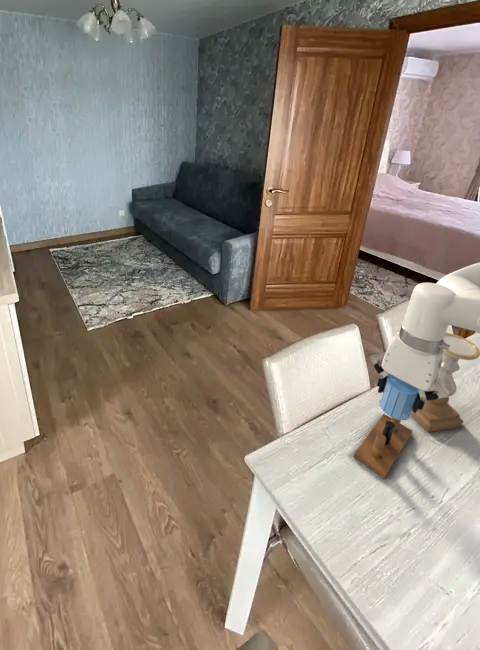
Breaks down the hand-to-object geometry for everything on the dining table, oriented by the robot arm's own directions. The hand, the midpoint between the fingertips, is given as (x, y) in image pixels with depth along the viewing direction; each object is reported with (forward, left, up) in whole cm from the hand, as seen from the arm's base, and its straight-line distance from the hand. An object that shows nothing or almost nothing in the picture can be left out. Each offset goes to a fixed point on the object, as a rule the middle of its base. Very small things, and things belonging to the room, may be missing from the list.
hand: (398, 398), depth 82 cm
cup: (0, 0, -3) cm, 3 cm away
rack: (0, 0, -16) cm, 16 cm away
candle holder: (-11, -18, -16) cm, 27 cm away
